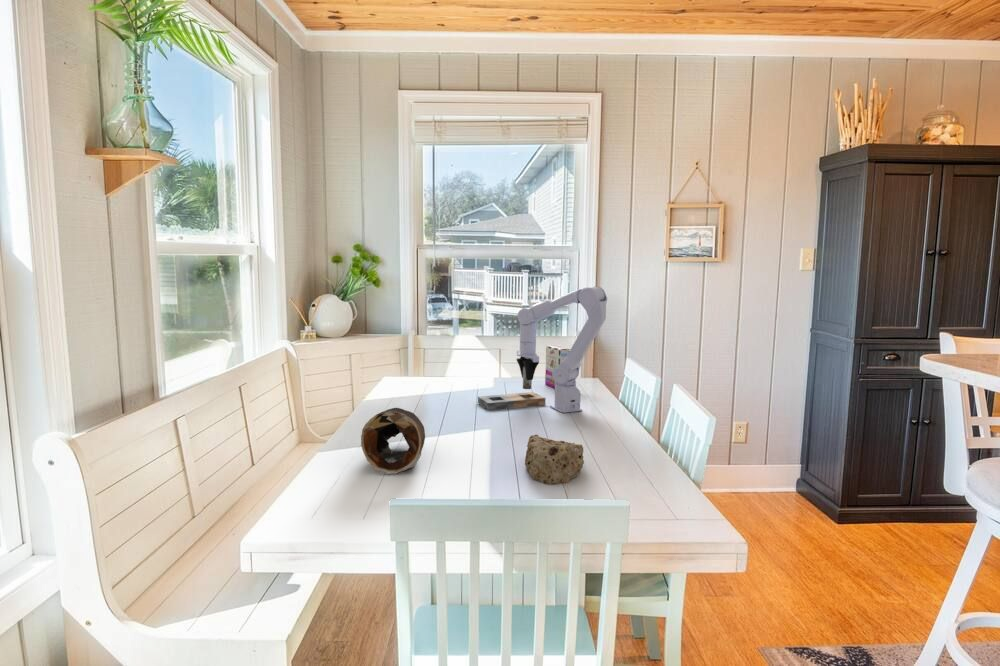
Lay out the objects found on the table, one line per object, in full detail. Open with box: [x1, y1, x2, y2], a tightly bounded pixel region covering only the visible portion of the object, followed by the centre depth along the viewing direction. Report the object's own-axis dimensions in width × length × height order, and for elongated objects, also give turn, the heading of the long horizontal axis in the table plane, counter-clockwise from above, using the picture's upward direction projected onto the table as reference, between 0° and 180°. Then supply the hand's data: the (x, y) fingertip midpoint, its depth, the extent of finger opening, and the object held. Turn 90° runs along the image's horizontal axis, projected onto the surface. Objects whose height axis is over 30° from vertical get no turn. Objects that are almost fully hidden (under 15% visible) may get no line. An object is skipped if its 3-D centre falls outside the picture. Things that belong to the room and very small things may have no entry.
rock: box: [524, 434, 585, 485], centre depth 148 cm, size 21×14×10 cm
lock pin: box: [522, 366, 533, 390], centre depth 214 cm, size 3×3×8 cm
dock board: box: [477, 391, 546, 411], centre depth 213 cm, size 10×22×2 cm, turn 113°
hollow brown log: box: [360, 407, 426, 475], centre depth 155 cm, size 15×15×25 cm
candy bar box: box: [544, 345, 571, 389], centre depth 242 cm, size 11×5×16 cm, turn 25°
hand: (527, 378), depth 214 cm, fingers closed on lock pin, 3 cm apart
